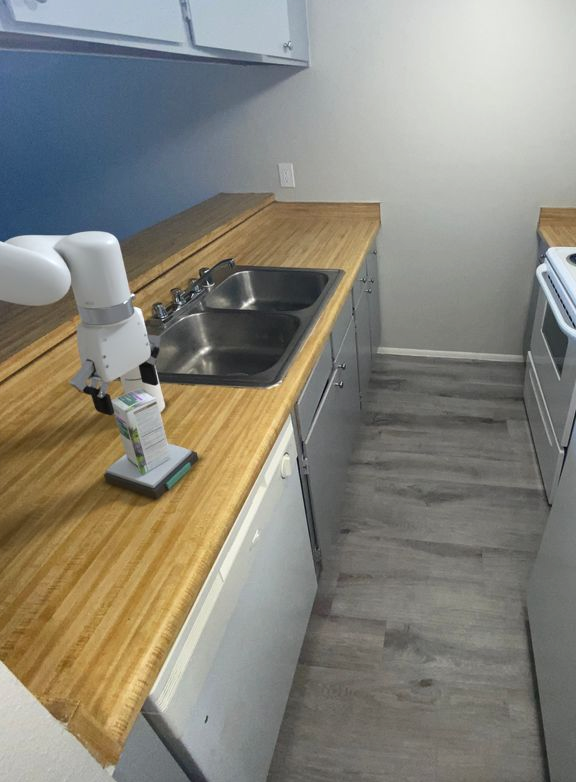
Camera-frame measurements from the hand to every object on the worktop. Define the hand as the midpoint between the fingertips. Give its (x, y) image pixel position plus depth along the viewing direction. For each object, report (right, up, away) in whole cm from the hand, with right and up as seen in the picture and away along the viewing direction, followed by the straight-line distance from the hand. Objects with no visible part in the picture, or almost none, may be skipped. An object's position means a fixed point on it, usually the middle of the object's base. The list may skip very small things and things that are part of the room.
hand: (129, 397), depth 84 cm
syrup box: (0, -13, +7) cm, 15 cm away
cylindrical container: (-11, -7, +26) cm, 29 cm away
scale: (0, -16, +9) cm, 18 cm away
